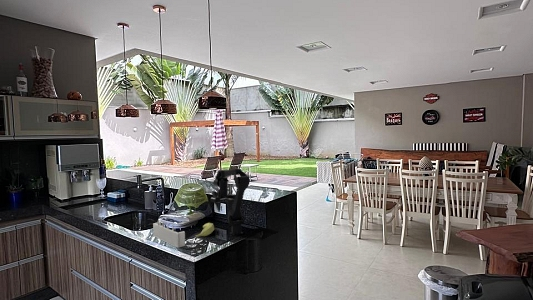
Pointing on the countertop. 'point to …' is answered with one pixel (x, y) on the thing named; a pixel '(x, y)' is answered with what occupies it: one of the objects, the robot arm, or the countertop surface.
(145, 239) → the countertop surface
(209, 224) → the banana
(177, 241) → the rack
